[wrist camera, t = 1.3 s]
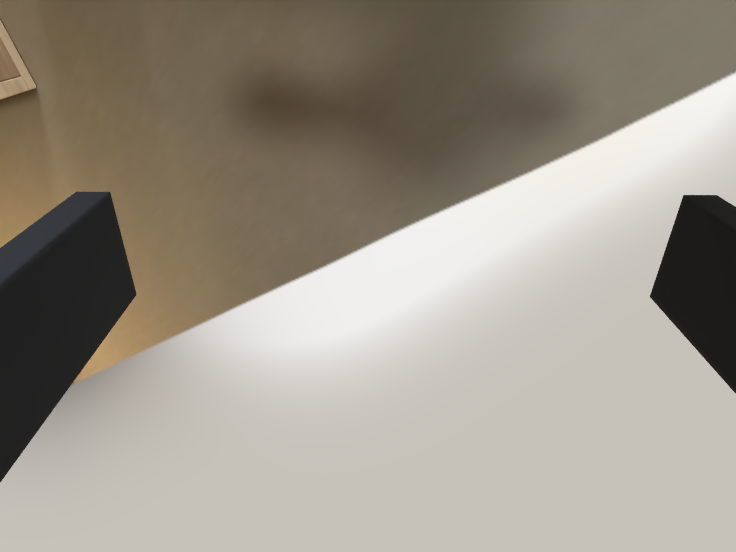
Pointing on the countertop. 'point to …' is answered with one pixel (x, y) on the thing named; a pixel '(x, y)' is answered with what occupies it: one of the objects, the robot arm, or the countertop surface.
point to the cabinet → (12, 69)
